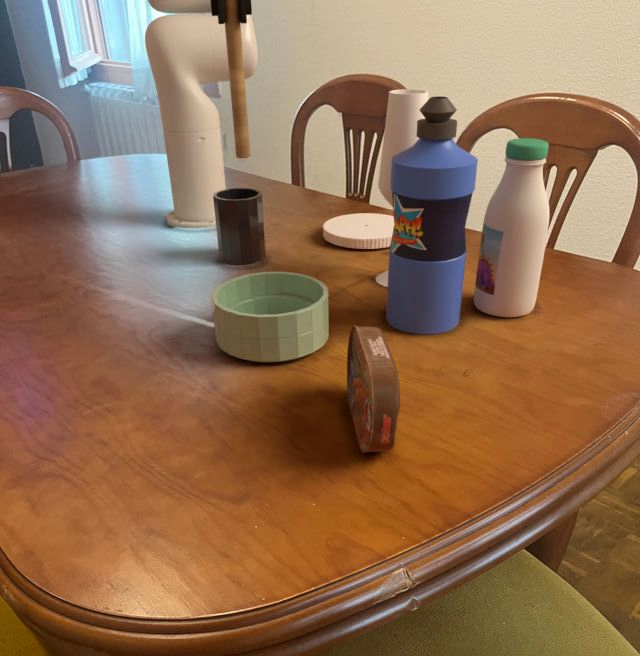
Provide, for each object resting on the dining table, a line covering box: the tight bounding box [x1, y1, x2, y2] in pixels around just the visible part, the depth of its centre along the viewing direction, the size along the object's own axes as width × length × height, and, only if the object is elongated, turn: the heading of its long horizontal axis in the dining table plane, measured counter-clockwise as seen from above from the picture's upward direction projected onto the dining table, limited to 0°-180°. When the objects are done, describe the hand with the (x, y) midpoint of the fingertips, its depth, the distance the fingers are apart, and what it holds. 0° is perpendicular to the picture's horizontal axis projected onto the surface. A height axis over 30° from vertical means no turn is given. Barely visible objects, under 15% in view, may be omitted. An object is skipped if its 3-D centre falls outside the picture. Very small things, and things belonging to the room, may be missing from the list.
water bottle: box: [386, 95, 479, 335], centre depth 75 cm, size 9×9×25 cm
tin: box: [346, 325, 401, 454], centre depth 60 cm, size 15×3×8 cm, turn 5°
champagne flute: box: [375, 88, 429, 288], centre depth 87 cm, size 7×7×24 cm
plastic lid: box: [322, 212, 394, 250], centre depth 107 cm, size 14×14×2 cm
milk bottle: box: [473, 137, 551, 318], centre depth 79 cm, size 8×8×20 cm
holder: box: [213, 187, 267, 266], centre depth 98 cm, size 7×7×10 cm
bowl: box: [210, 271, 330, 364], centre depth 76 cm, size 13×13×6 cm
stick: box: [224, 0, 251, 159], centre depth 78 cm, size 2×2×20 cm
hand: (232, 22), depth 75 cm, fingers closed on stick, 1 cm apart
